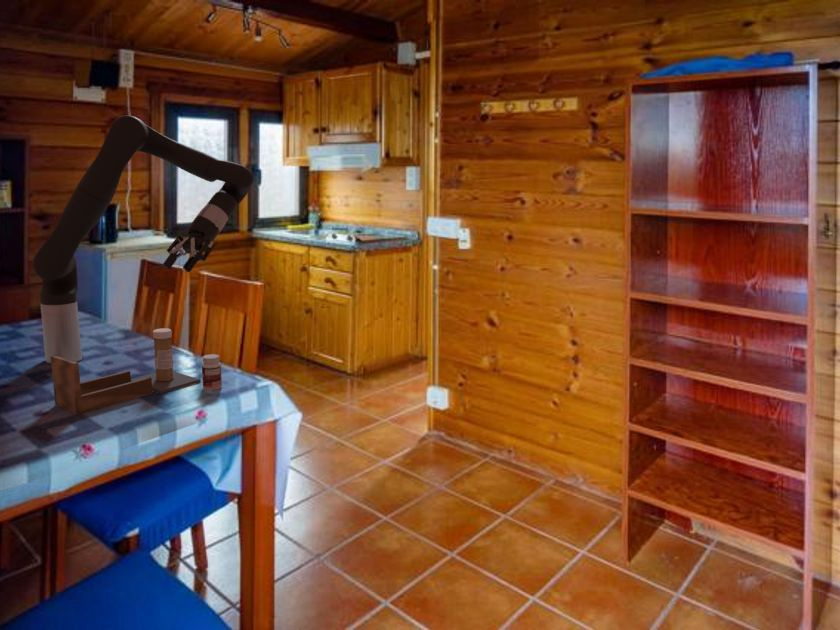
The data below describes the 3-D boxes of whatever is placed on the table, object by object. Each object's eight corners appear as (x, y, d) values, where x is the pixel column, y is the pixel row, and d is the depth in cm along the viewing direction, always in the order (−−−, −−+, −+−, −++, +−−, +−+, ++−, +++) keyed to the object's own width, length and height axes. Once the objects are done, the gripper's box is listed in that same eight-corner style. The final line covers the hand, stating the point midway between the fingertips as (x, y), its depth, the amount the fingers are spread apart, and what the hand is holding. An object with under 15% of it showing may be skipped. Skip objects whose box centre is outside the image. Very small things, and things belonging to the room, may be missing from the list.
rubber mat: (128, 383, 175) (127, 380, 175) (167, 372, 185) (167, 369, 185) (160, 393, 167) (160, 390, 167) (200, 382, 177) (200, 379, 177)
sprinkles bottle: (157, 377, 178) (154, 328, 175) (175, 376, 179) (172, 327, 176) (154, 382, 173) (151, 332, 171) (172, 381, 174) (169, 331, 172)
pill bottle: (205, 384, 175) (203, 353, 173) (223, 384, 176) (222, 353, 174) (200, 390, 171) (199, 358, 169) (219, 390, 171) (218, 358, 169)
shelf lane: (55, 405, 158) (50, 356, 155) (129, 385, 173) (125, 340, 171) (78, 414, 152) (74, 363, 150) (152, 393, 168) (149, 346, 165)
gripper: (183, 213, 189) (150, 257, 182) (217, 216, 182) (183, 262, 175) (200, 231, 195) (168, 274, 188) (233, 234, 187) (201, 280, 180)
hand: (175, 268), depth 181 cm, fingers open, 8 cm apart
